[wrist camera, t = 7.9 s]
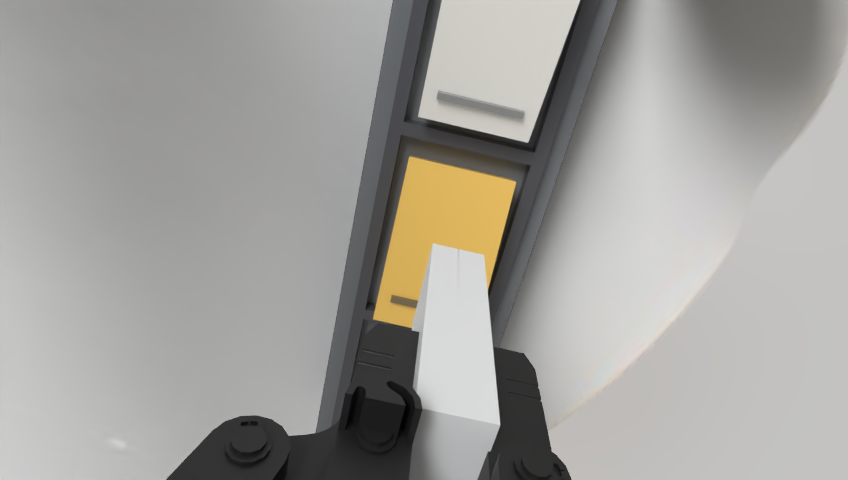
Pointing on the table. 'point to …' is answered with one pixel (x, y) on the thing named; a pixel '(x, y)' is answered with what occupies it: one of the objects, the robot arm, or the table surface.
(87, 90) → the table surface
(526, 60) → the block
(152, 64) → the table surface
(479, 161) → the power strip
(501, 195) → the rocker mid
